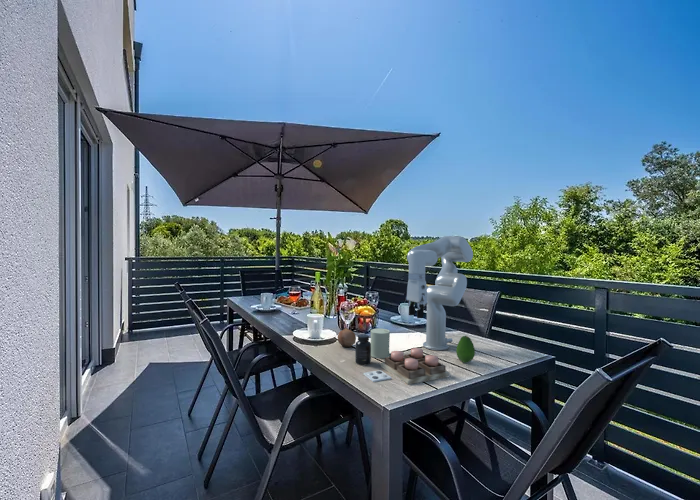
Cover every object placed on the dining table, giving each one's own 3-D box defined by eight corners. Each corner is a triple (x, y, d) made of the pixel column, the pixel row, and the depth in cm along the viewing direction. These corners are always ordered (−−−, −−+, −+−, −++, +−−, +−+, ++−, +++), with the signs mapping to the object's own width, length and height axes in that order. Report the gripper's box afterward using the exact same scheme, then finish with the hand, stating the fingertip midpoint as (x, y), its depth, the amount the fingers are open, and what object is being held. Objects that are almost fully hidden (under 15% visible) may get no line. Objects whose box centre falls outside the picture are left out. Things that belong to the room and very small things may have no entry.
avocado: (457, 364, 149) (458, 337, 149) (454, 358, 157) (455, 332, 156) (476, 365, 148) (477, 338, 148) (472, 359, 156) (473, 333, 155)
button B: (432, 360, 141) (432, 354, 141) (440, 364, 137) (441, 358, 137) (422, 362, 139) (422, 356, 139) (430, 366, 134) (430, 360, 134)
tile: (380, 371, 139) (380, 369, 139) (391, 378, 132) (391, 376, 132) (363, 374, 136) (363, 372, 136) (373, 382, 129) (373, 380, 129)
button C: (399, 356, 146) (399, 350, 146) (406, 360, 141) (406, 353, 141) (388, 357, 144) (388, 351, 144) (395, 361, 139) (395, 355, 139)
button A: (418, 353, 150) (418, 347, 150) (425, 356, 146) (425, 350, 146) (408, 354, 148) (408, 348, 148) (415, 358, 144) (415, 352, 143)
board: (419, 360, 154) (419, 351, 154) (449, 376, 136) (449, 366, 136) (380, 366, 145) (381, 357, 145) (407, 384, 127) (408, 373, 127)
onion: (344, 349, 176) (343, 330, 180) (359, 347, 172) (358, 328, 176) (333, 347, 169) (333, 327, 173) (350, 345, 164) (349, 324, 169)
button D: (412, 363, 137) (412, 357, 137) (420, 368, 132) (420, 361, 132) (402, 365, 135) (402, 359, 135) (409, 370, 130) (409, 363, 130)
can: (388, 359, 155) (389, 333, 154) (368, 357, 156) (369, 331, 156) (390, 352, 164) (390, 328, 163) (371, 351, 165) (371, 326, 165)
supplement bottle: (354, 360, 153) (355, 333, 152) (369, 359, 153) (370, 333, 153) (356, 365, 146) (356, 337, 145) (371, 365, 146) (372, 337, 146)
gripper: (435, 279, 149) (434, 319, 150) (412, 275, 165) (411, 312, 165) (421, 279, 146) (420, 321, 147) (399, 275, 162) (398, 313, 162)
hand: (415, 316), depth 156 cm, fingers open, 5 cm apart
